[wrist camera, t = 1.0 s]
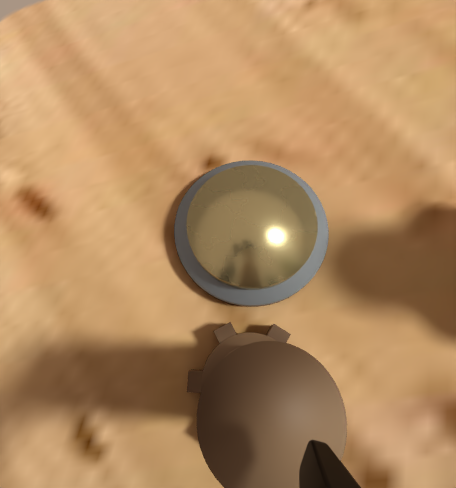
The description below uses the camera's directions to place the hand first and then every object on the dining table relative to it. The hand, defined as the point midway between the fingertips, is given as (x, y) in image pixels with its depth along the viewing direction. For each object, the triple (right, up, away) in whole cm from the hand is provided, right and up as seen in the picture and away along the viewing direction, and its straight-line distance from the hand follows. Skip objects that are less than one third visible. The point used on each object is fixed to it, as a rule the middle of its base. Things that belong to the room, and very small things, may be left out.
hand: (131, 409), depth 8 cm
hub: (+4, +5, +16) cm, 17 cm away
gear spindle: (+4, -5, +13) cm, 14 cm away
